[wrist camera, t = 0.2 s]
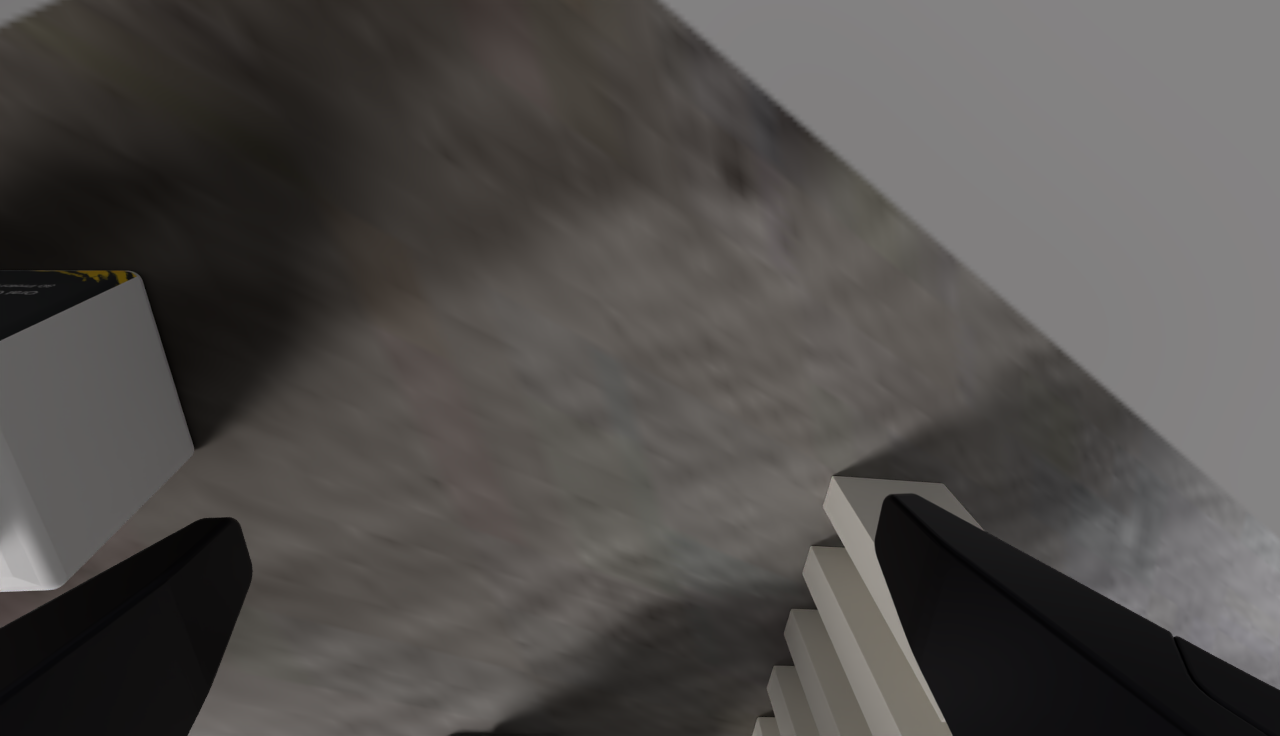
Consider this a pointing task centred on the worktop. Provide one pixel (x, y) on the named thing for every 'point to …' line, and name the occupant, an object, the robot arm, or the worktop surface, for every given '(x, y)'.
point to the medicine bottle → (79, 418)
